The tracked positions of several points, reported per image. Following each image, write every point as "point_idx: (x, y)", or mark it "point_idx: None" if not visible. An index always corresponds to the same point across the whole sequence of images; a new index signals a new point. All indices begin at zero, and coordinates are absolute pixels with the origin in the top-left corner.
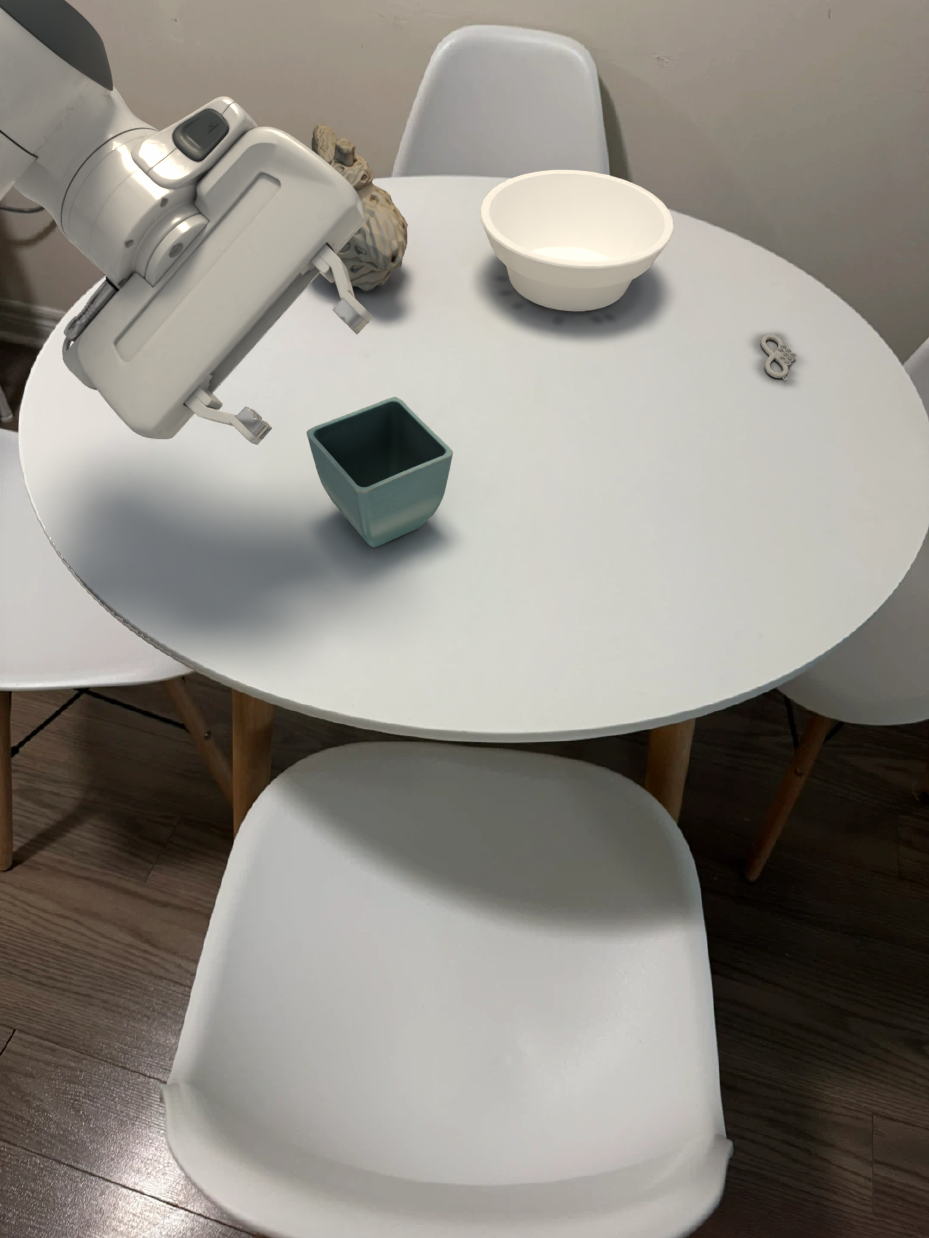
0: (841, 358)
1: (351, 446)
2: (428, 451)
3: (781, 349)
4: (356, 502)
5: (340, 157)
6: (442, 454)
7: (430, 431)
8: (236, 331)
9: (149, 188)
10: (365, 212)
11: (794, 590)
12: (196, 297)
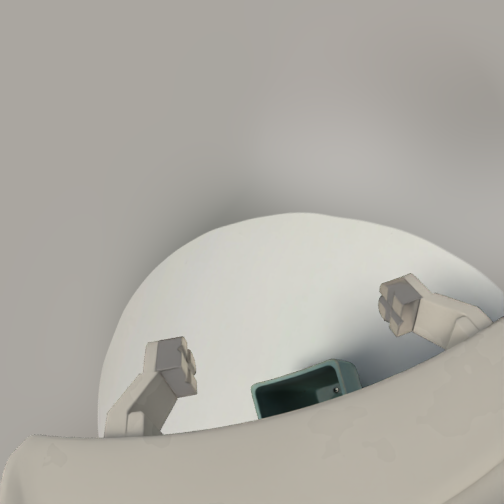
0: (106, 411)
1: None
2: (273, 413)
3: None
4: (344, 365)
5: None
6: (261, 395)
7: (259, 418)
8: (369, 390)
9: None
10: None
11: (165, 286)
12: (430, 489)
